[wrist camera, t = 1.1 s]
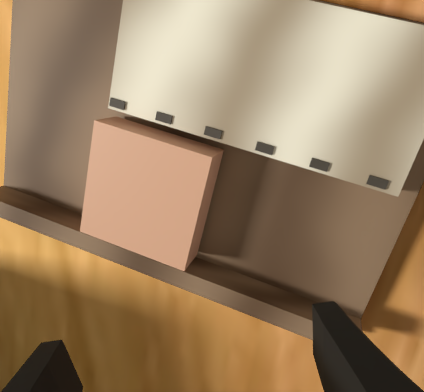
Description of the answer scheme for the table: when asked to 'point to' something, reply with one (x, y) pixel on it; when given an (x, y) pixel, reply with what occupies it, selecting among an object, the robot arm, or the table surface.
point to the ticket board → (231, 136)
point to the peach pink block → (148, 190)
